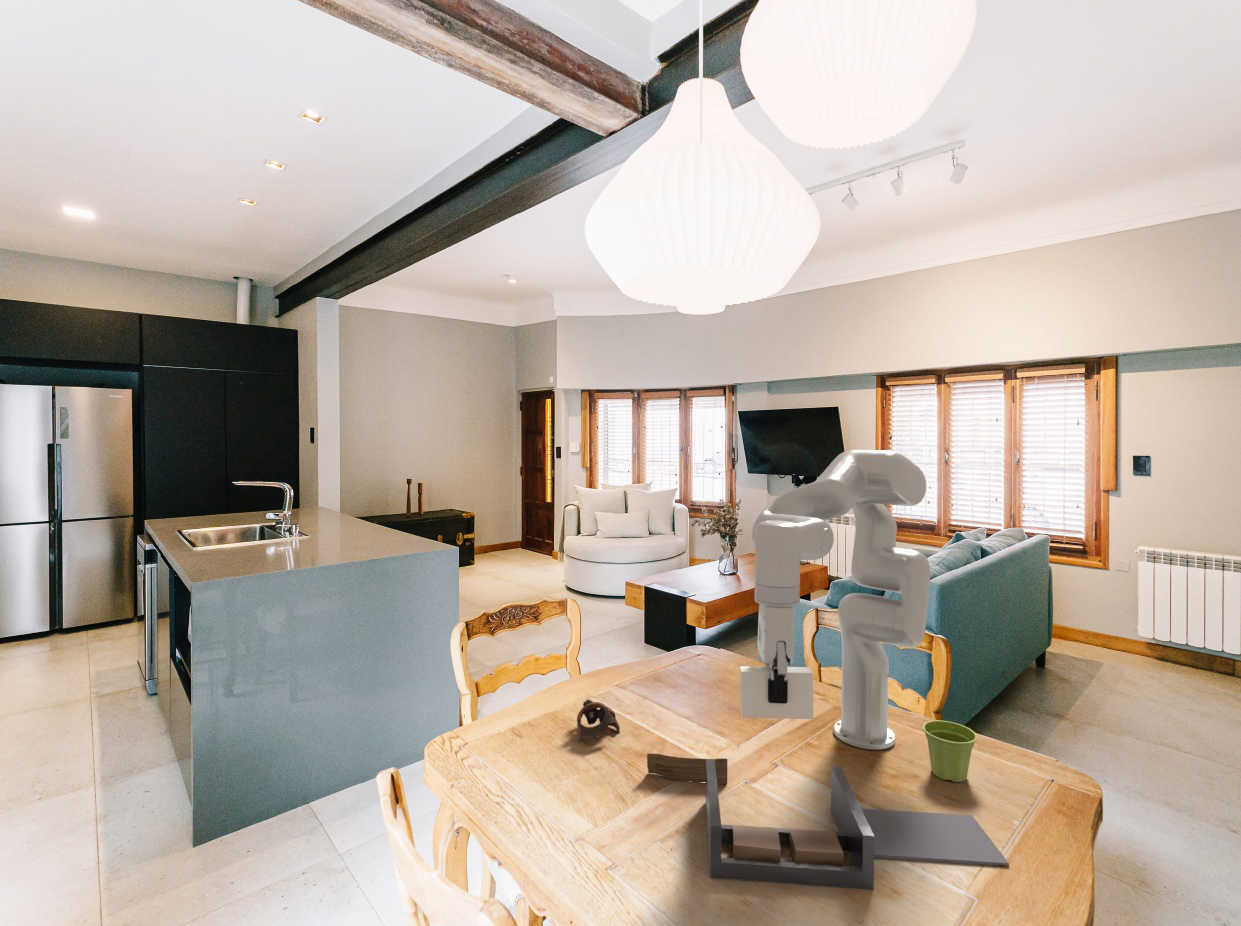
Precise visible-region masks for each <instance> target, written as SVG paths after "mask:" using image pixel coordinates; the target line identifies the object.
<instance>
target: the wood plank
mask: <svg viewBox="0 0 1241 926" xmlns="http://www.w3.org/2000/svg"><path fill="white" fill-rule="evenodd" d="M706 759H707V758H694V757H693V758H691V757H677V756H672V755H666V754H661V753H647V755H646V765H647V772H648V774H655V775H657V776H661V777H663V778H666V779H670V780H676V781H683V782H686V781H692V782H691V783H697V782H706ZM714 759H715V768H716V777H717V785H719V784H727V785H728V758H714Z"/></svg>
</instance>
